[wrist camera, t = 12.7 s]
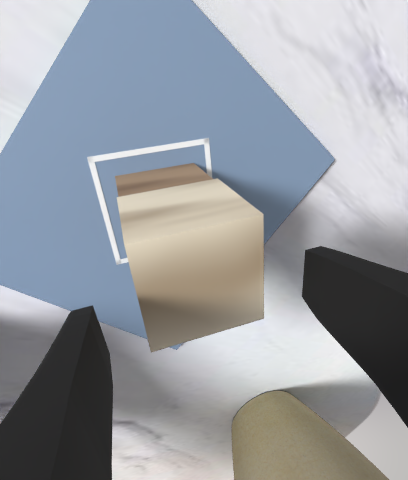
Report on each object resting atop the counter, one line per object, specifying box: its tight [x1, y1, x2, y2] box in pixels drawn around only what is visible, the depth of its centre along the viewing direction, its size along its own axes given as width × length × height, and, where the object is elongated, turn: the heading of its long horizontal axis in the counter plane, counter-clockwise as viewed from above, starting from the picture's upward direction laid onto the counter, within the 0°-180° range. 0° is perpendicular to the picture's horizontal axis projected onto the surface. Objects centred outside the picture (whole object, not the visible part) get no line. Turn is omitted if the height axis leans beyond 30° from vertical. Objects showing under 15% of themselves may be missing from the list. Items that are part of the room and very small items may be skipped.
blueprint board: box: [0, 0, 335, 350], centre depth 19 cm, size 18×16×1 cm
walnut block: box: [115, 163, 213, 197], centre depth 16 cm, size 4×4×4 cm
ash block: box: [117, 178, 264, 352], centre depth 13 cm, size 4×4×4 cm
